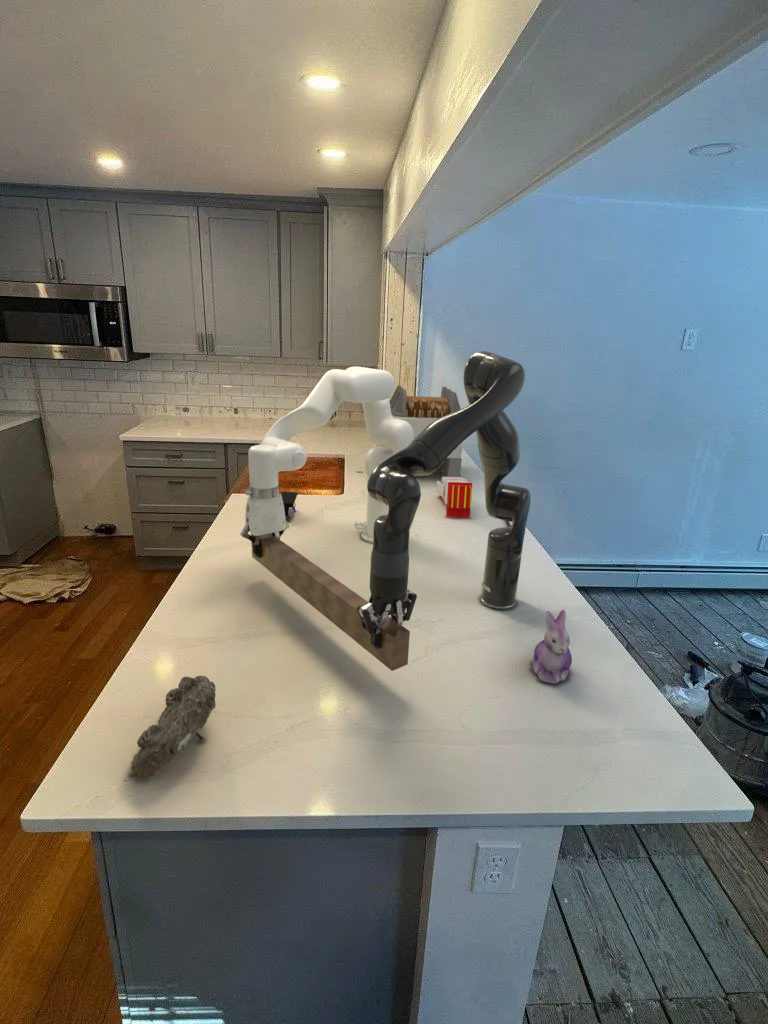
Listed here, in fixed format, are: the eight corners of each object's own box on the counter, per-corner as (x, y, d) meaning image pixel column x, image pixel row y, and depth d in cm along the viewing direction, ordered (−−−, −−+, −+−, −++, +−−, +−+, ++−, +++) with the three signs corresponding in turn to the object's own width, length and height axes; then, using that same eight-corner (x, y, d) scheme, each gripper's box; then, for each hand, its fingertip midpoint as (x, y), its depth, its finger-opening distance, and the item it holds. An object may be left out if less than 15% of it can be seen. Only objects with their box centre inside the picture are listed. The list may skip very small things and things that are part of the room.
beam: (252, 557, 161) (250, 531, 158) (265, 553, 163) (264, 528, 160) (391, 671, 113) (393, 637, 110) (407, 664, 115) (410, 631, 112)
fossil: (164, 676, 112) (217, 643, 107) (198, 707, 115) (251, 677, 110) (105, 770, 92) (166, 735, 87) (148, 805, 95) (209, 773, 90)
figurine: (551, 690, 120) (562, 629, 115) (520, 664, 128) (528, 606, 123) (584, 679, 124) (596, 619, 119) (551, 654, 132) (561, 597, 127)
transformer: (382, 463, 289) (386, 382, 275) (445, 464, 293) (451, 384, 279) (390, 482, 257) (394, 392, 243) (460, 483, 261) (468, 394, 247)
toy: (463, 473, 243) (476, 484, 213) (461, 503, 245) (474, 518, 216) (435, 472, 242) (444, 483, 213) (433, 502, 245) (442, 517, 216)
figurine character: (293, 526, 206) (298, 508, 219) (293, 507, 202) (298, 490, 216) (275, 525, 205) (281, 507, 219) (274, 507, 202) (280, 489, 215)
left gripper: (240, 500, 144) (243, 566, 150) (298, 490, 153) (299, 552, 159) (228, 492, 149) (231, 556, 155) (285, 483, 159) (286, 543, 165)
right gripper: (371, 584, 104) (368, 663, 110) (429, 566, 112) (423, 641, 118) (348, 569, 109) (346, 645, 115) (405, 553, 118) (401, 625, 124)
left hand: (266, 553), depth 157 cm, fingers closed on beam, 4 cm apart
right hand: (385, 643), depth 117 cm, fingers closed on beam, 4 cm apart
